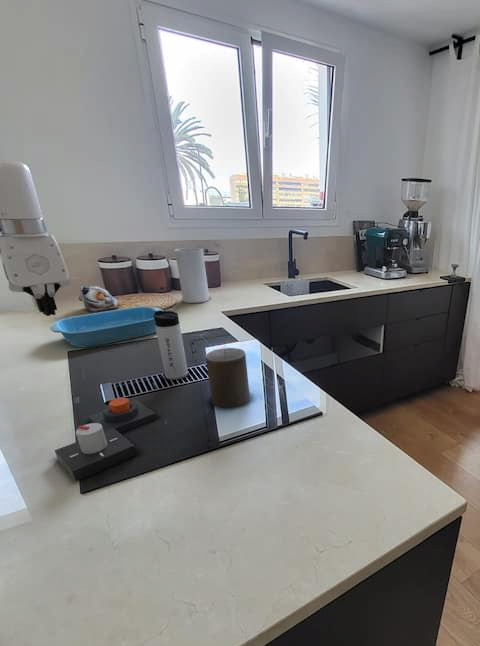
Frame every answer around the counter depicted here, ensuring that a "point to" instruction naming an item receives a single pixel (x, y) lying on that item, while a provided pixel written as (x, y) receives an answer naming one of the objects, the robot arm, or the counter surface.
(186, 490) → the counter surface
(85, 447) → the timer dial
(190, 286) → the cylinder vase
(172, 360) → the travel mug
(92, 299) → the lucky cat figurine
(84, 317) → the casserole dish
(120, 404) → the button
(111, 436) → the panel
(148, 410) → the block
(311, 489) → the counter surface
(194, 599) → the counter surface
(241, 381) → the pillar candle
